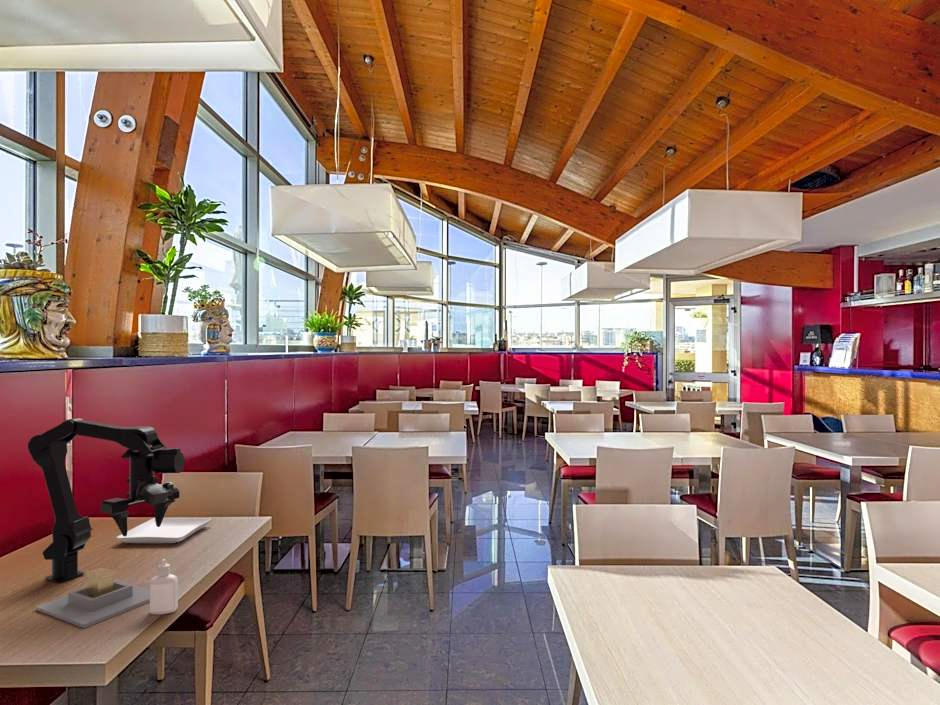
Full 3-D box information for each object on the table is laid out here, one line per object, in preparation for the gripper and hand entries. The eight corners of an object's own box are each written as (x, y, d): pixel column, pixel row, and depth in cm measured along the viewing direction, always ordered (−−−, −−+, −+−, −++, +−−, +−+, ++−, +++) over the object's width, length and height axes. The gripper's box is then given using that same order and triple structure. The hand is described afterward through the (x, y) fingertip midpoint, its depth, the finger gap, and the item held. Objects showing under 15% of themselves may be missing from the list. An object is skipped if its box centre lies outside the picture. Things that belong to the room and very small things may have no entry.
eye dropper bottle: (164, 617, 125) (164, 564, 125) (146, 613, 127) (146, 561, 127) (180, 609, 129) (180, 557, 129) (162, 605, 131) (162, 555, 131)
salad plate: (180, 547, 174) (180, 536, 174) (114, 547, 174) (114, 536, 174) (213, 526, 195) (213, 517, 195) (153, 527, 195) (153, 517, 195)
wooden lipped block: (86, 600, 133) (85, 572, 133) (101, 594, 136) (101, 567, 136) (100, 605, 130) (100, 576, 130) (115, 599, 133) (115, 571, 133)
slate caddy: (35, 610, 129) (35, 595, 129) (115, 582, 145) (114, 569, 145) (83, 628, 120) (83, 613, 120) (162, 596, 136) (162, 583, 136)
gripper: (124, 483, 138) (125, 546, 138) (192, 469, 155) (192, 525, 155) (99, 479, 143) (99, 539, 143) (167, 466, 160) (167, 520, 160)
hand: (142, 531), depth 150 cm, fingers open, 9 cm apart
